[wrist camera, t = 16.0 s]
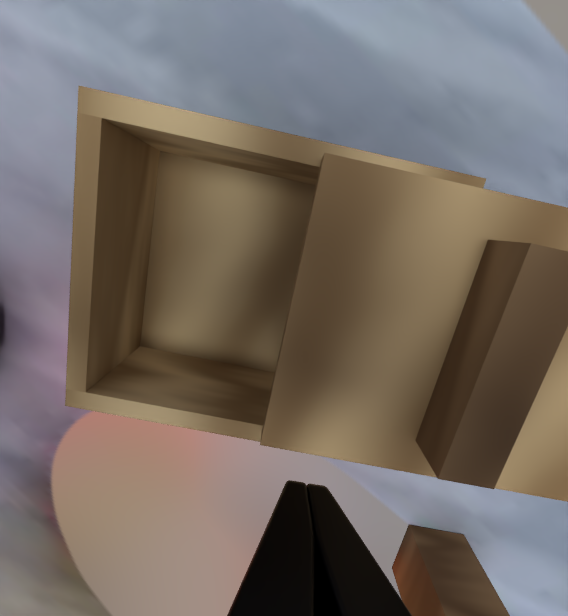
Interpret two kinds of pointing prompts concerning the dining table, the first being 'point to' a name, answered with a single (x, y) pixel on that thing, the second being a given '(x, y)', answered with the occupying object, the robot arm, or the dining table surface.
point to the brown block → (443, 576)
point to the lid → (428, 332)
